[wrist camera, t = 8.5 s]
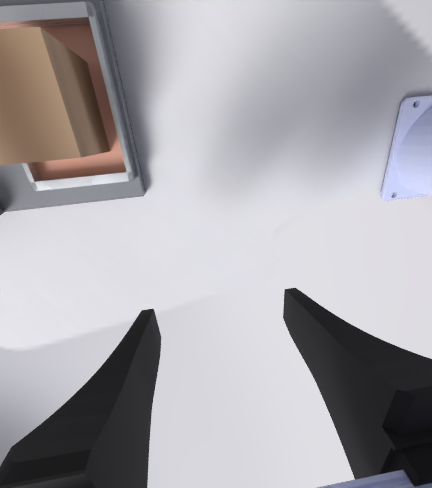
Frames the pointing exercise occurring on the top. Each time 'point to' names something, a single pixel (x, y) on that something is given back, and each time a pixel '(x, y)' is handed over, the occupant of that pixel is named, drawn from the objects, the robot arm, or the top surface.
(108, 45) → the chassis
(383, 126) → the top surface
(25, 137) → the block
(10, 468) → the robot arm
